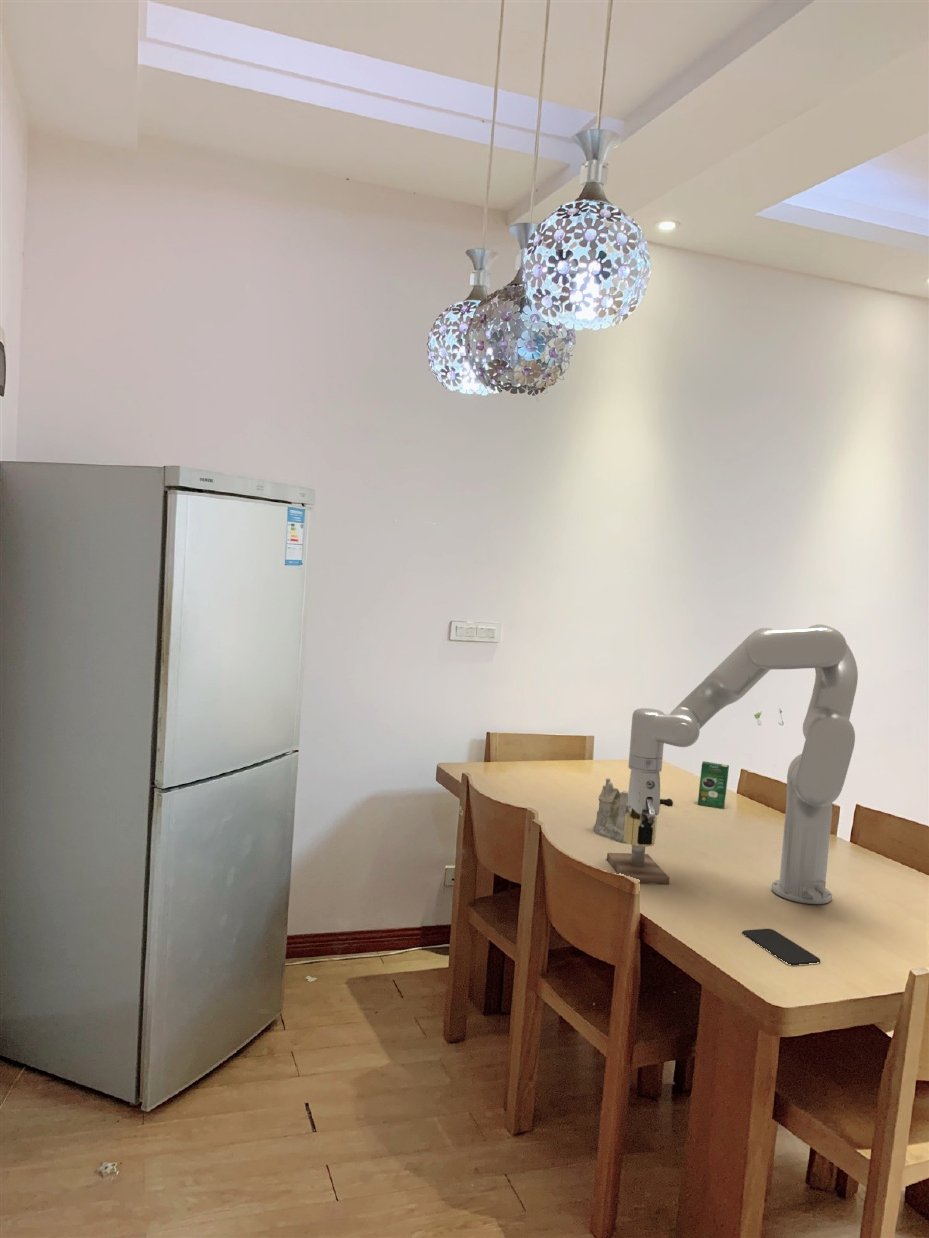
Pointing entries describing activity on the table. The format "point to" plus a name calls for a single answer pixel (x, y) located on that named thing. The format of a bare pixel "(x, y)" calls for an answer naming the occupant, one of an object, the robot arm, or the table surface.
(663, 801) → the wrench
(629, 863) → the post board
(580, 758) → the table surface
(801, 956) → the phone
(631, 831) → the ring
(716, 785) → the coffee box
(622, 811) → the ceramic cottage
